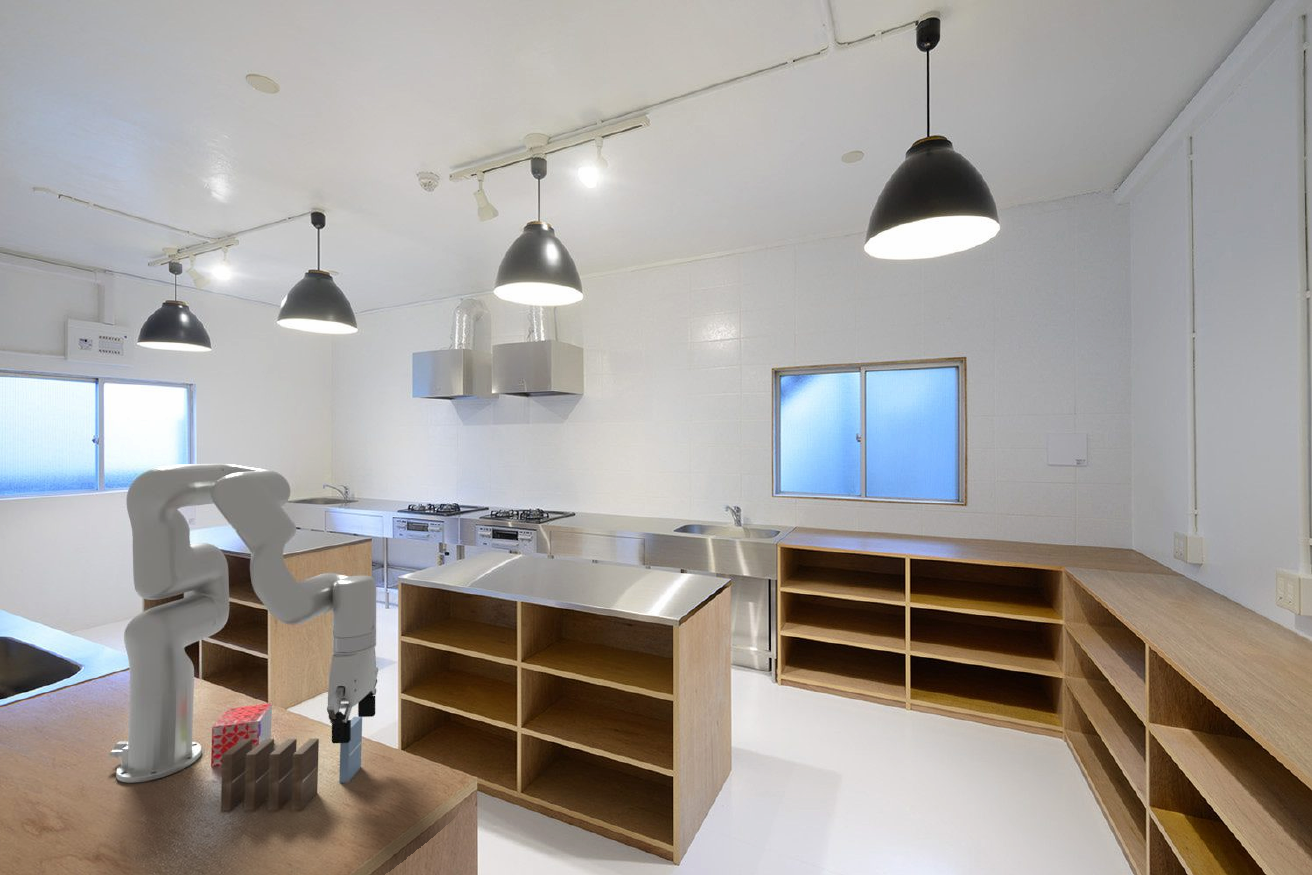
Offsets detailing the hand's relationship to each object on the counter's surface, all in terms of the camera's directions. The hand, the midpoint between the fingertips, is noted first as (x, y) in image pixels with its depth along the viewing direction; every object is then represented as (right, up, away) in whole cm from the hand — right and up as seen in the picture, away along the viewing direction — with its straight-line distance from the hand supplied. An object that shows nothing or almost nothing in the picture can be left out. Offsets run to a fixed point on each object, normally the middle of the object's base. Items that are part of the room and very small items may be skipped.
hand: (354, 728), depth 106 cm
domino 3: (-8, -9, -8) cm, 15 cm away
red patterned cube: (-27, -9, +7) cm, 29 cm away
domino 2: (-12, -9, -9) cm, 17 cm away
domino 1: (-16, -9, -9) cm, 20 cm away
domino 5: (-1, -9, 0) cm, 9 cm away
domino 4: (-4, -9, -8) cm, 13 cm away
